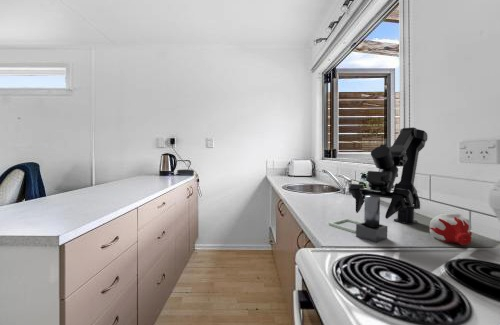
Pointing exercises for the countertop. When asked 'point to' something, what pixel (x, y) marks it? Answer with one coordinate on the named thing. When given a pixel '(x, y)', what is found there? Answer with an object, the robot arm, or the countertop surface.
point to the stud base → (371, 241)
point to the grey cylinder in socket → (371, 221)
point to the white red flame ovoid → (451, 228)
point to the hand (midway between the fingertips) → (370, 214)
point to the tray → (343, 226)
